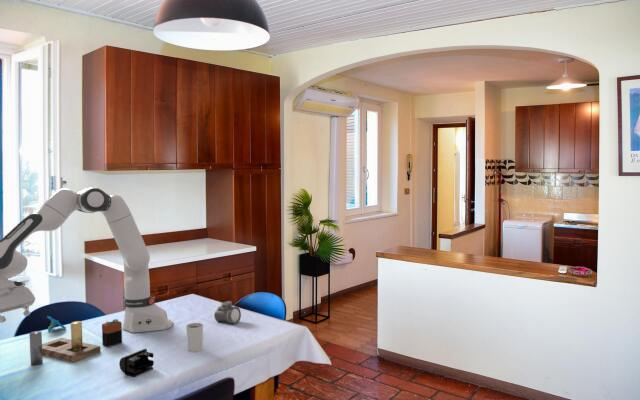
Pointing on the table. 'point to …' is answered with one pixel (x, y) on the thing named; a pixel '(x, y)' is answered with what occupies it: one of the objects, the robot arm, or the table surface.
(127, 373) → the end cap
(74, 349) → the brass leg
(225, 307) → the pipe fitting
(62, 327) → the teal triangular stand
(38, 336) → the steel leg
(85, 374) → the table surface
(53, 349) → the hole plate
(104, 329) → the battery
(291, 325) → the table surface
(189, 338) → the grey cup
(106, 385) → the table surface
